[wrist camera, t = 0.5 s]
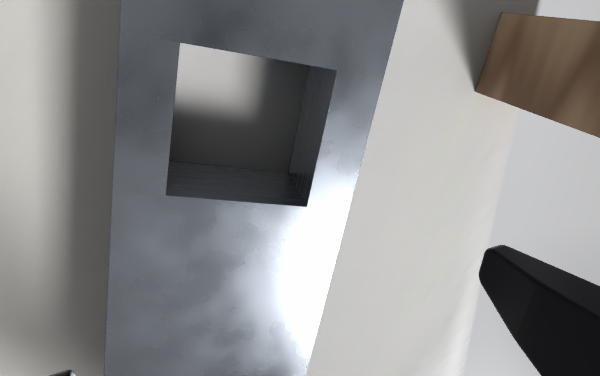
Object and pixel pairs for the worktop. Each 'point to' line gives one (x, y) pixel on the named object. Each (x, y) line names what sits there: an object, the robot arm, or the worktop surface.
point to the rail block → (234, 190)
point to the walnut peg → (546, 68)
